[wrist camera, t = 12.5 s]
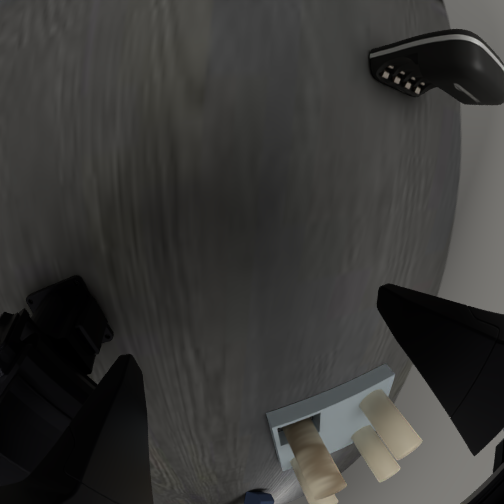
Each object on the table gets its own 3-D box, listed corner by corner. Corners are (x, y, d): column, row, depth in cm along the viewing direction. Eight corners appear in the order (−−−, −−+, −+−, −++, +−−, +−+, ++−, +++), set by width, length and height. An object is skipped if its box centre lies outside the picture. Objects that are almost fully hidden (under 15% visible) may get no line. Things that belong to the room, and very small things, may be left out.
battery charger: (364, 84, 19) (475, 73, 9) (366, 47, 18) (469, 23, 8) (417, 107, 21) (515, 114, 11) (418, 74, 20) (512, 71, 10)
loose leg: (281, 428, 34) (315, 501, 22) (276, 415, 32) (313, 496, 20) (307, 417, 34) (346, 488, 22) (305, 404, 32) (347, 481, 21)
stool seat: (278, 460, 38) (303, 518, 27) (265, 413, 31) (302, 498, 19) (368, 422, 42) (402, 471, 30) (385, 363, 34) (438, 424, 22)
